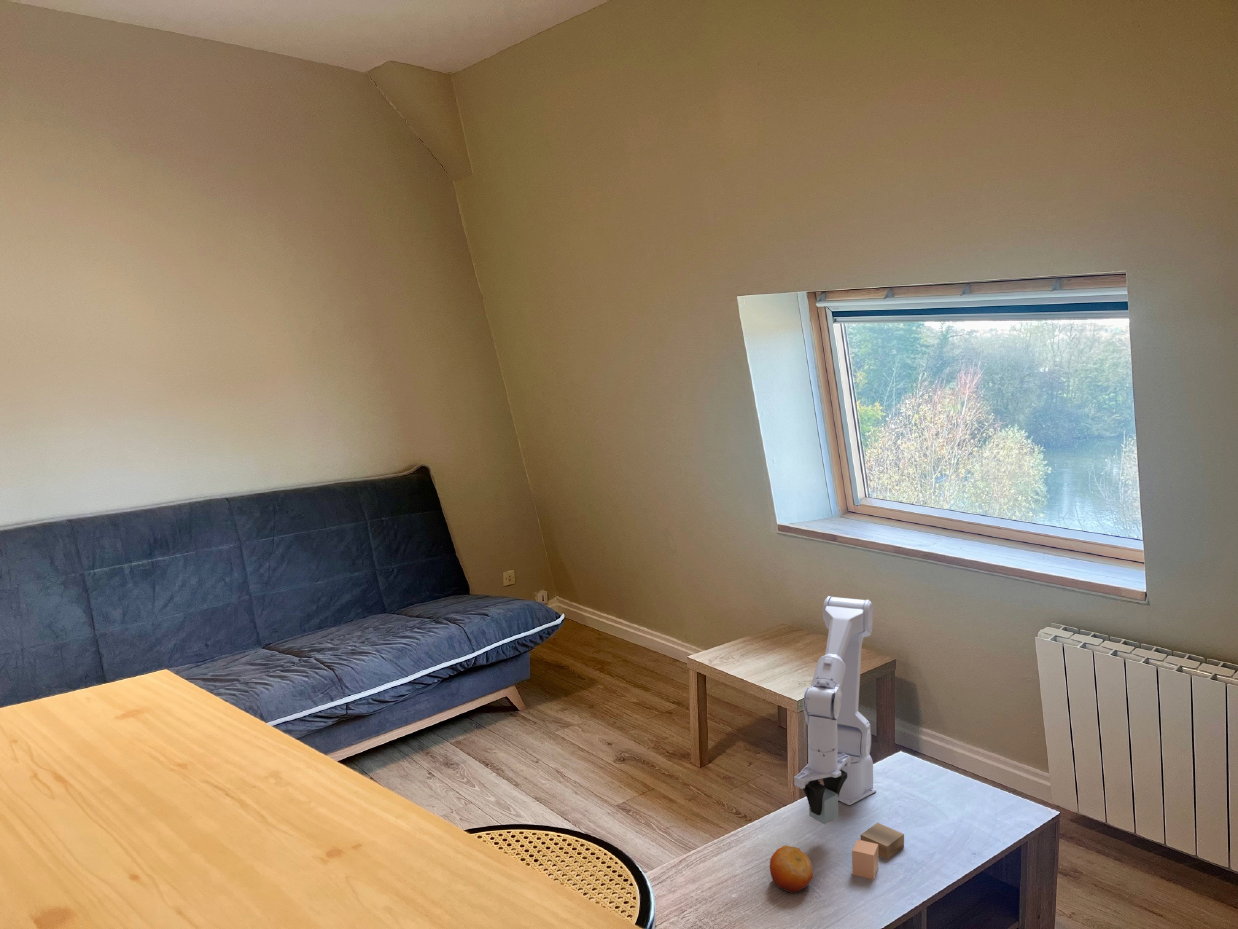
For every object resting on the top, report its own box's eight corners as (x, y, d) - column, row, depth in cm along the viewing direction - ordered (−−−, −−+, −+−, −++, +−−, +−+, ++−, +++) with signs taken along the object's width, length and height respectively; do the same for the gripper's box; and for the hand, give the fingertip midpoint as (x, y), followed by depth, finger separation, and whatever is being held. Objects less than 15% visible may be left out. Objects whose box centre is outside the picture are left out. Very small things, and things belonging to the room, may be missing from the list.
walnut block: (877, 836, 186) (877, 822, 186) (904, 848, 182) (904, 834, 181) (860, 848, 182) (860, 834, 182) (887, 860, 178) (887, 846, 177)
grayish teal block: (822, 809, 187) (822, 786, 186) (838, 817, 184) (837, 794, 183) (809, 816, 185) (809, 793, 184) (824, 824, 181) (824, 801, 181)
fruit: (774, 857, 177) (792, 832, 174) (806, 889, 174) (825, 864, 170) (752, 878, 171) (770, 851, 168) (784, 911, 168) (804, 885, 164)
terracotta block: (857, 863, 177) (857, 839, 176) (878, 868, 175) (878, 844, 174) (852, 874, 173) (852, 850, 173) (873, 880, 172) (873, 855, 171)
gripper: (813, 764, 174) (814, 830, 177) (862, 741, 183) (862, 804, 185) (785, 751, 180) (787, 815, 182) (834, 729, 188) (835, 790, 191)
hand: (823, 809), depth 184 cm, fingers closed on grayish teal block, 4 cm apart
